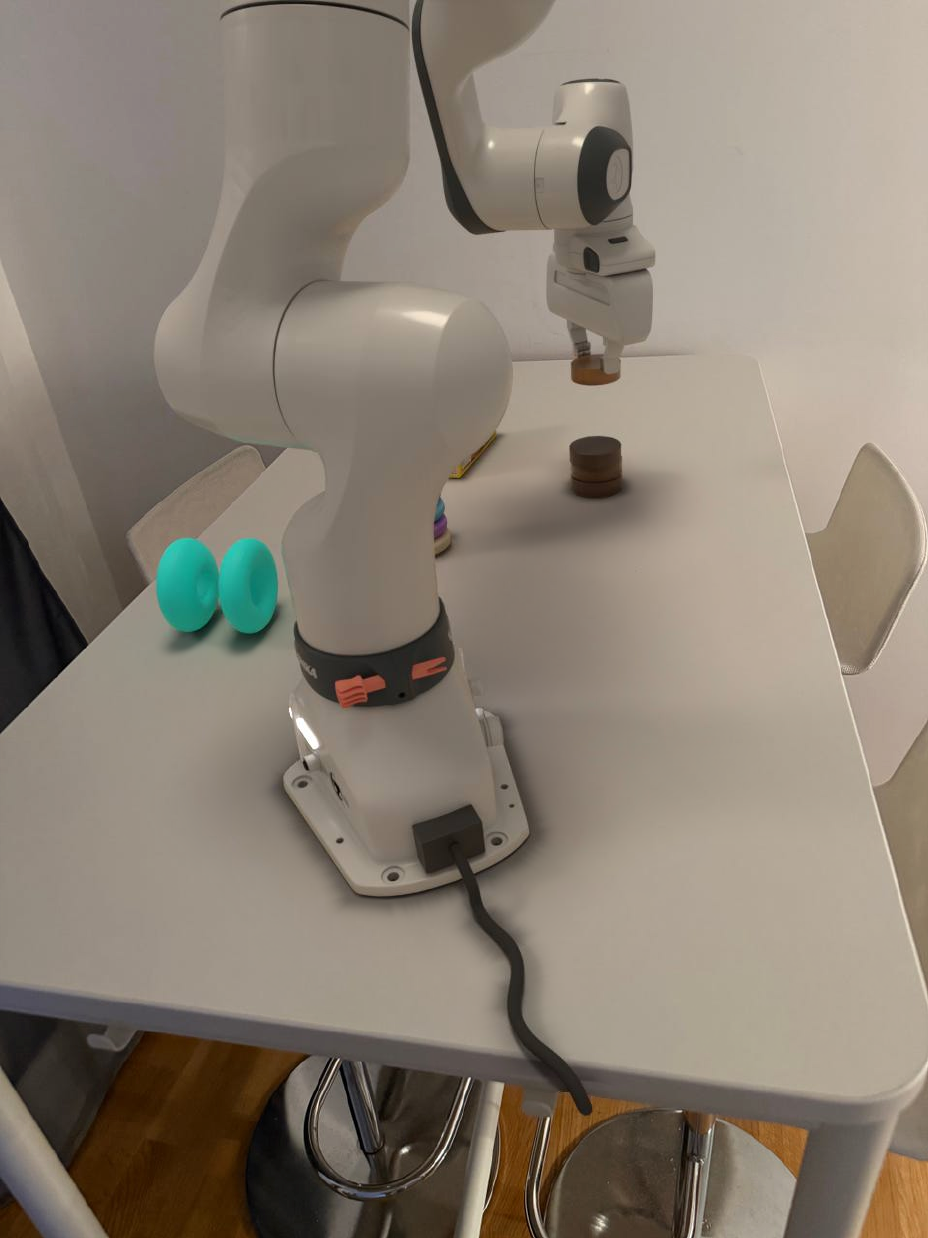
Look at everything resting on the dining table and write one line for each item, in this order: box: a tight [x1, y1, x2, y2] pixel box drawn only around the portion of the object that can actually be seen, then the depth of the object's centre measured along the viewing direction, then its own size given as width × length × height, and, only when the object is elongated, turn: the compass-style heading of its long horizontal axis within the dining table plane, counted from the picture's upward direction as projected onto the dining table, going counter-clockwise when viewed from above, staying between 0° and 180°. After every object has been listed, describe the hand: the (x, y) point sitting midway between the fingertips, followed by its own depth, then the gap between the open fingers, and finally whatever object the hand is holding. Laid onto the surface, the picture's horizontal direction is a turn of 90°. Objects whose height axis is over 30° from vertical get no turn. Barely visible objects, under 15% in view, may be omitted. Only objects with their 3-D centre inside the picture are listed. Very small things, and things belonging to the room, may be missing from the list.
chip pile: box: [568, 435, 623, 499], centre depth 119 cm, size 7×7×6 cm
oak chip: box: [570, 353, 622, 387], centre depth 112 cm, size 6×6×2 cm
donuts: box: [155, 537, 279, 634], centre depth 97 cm, size 10×10×10 cm
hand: (595, 364), depth 111 cm, fingers closed on oak chip, 6 cm apart
